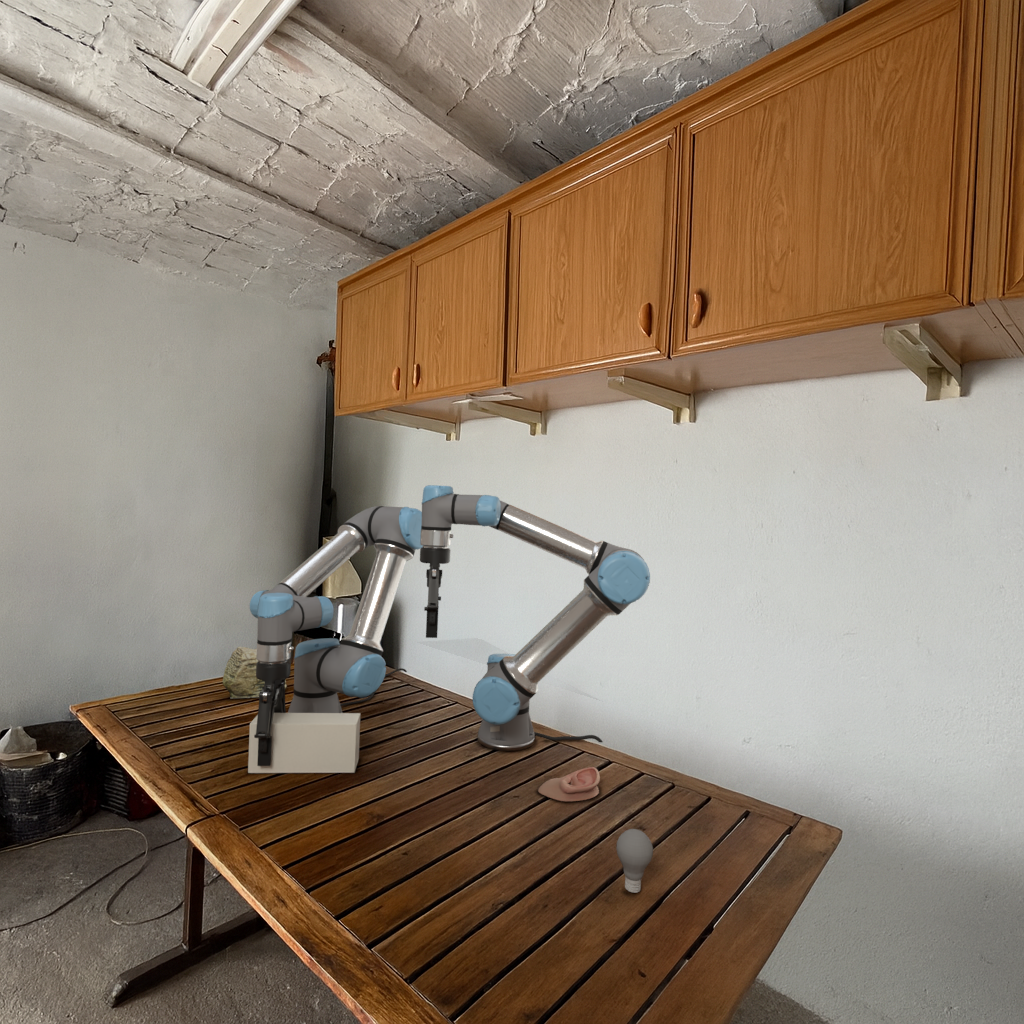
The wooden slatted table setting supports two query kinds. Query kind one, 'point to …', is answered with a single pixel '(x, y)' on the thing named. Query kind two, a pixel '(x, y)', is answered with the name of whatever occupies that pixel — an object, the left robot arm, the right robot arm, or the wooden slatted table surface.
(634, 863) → the light bulb
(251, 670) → the fossil
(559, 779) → the anatomical model
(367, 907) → the wooden slatted table surface
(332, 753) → the box
